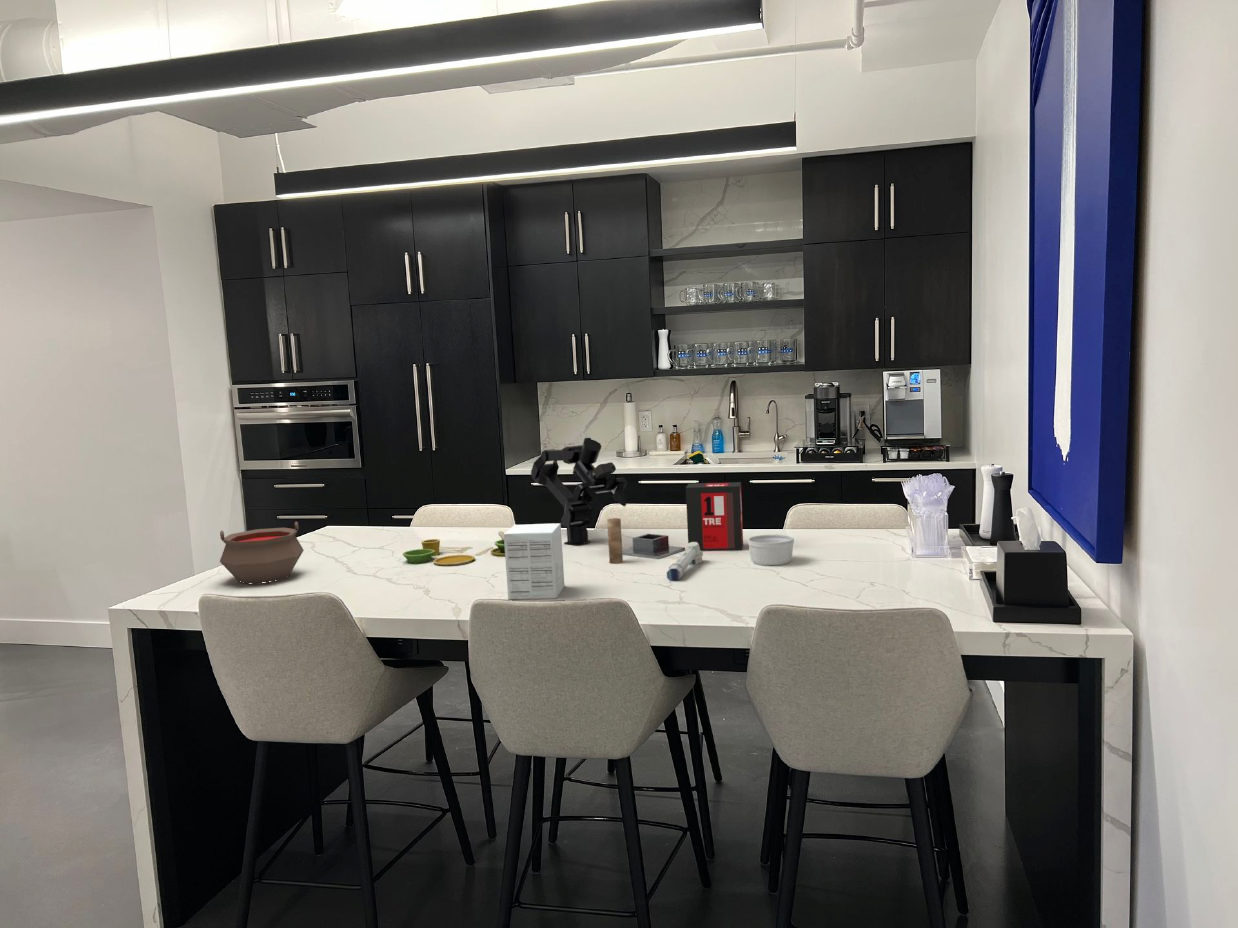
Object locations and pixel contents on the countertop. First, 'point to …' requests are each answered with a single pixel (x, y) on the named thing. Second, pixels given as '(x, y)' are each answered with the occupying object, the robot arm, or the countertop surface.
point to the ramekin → (771, 549)
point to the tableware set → (433, 549)
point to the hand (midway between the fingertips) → (613, 507)
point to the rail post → (615, 540)
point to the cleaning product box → (715, 516)
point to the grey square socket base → (651, 547)
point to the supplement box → (534, 561)
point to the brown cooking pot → (261, 554)
